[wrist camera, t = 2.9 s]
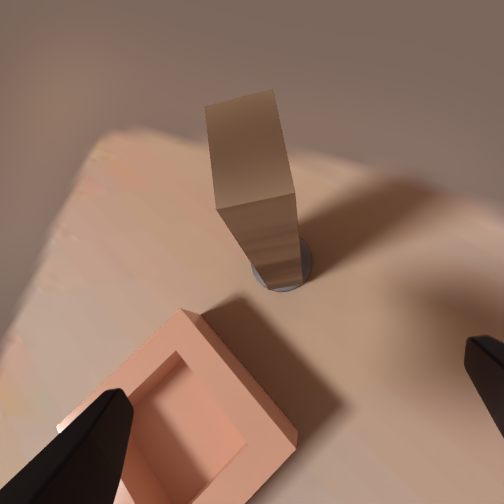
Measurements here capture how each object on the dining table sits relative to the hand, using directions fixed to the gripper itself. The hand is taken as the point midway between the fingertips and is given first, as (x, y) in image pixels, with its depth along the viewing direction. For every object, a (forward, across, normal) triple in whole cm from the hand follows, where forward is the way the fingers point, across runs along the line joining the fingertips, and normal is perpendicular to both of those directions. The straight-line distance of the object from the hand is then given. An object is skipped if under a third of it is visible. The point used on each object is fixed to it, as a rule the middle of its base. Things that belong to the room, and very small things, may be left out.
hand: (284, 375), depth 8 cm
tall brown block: (+14, 0, +4) cm, 15 cm away
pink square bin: (+7, +8, +11) cm, 15 cm away
